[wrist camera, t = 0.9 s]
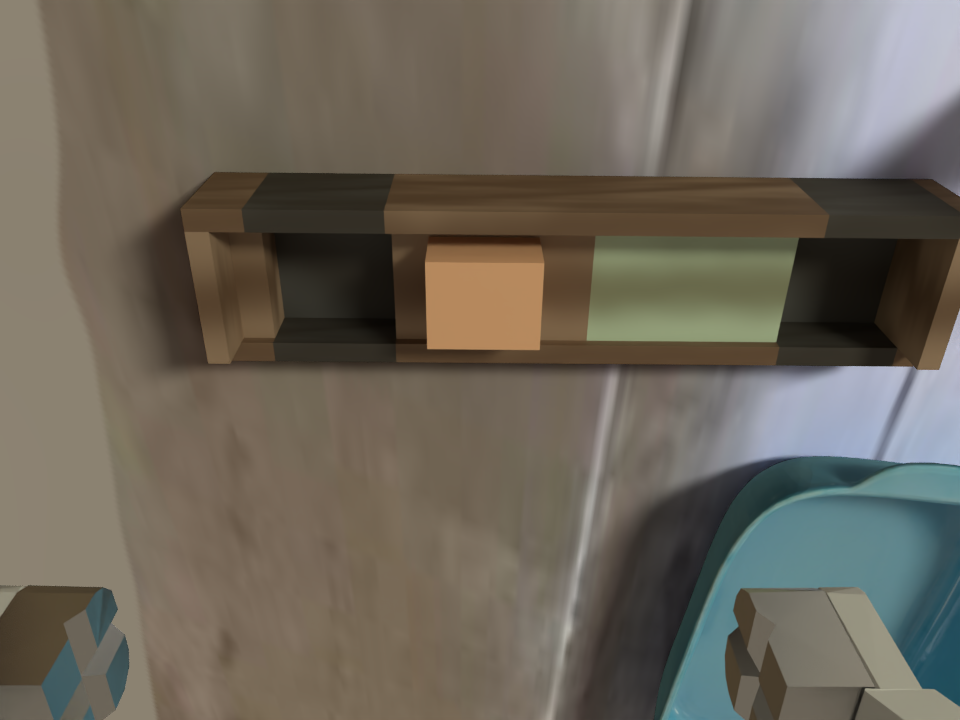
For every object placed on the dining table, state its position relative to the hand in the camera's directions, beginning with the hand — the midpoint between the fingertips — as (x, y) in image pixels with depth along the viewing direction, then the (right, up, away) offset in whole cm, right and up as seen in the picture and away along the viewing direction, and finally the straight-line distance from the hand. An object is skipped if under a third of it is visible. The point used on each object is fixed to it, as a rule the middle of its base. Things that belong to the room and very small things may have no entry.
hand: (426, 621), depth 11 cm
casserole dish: (+26, -15, +52) cm, 60 cm away
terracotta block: (+1, +8, +35) cm, 35 cm away
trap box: (+6, +9, +37) cm, 39 cm away
